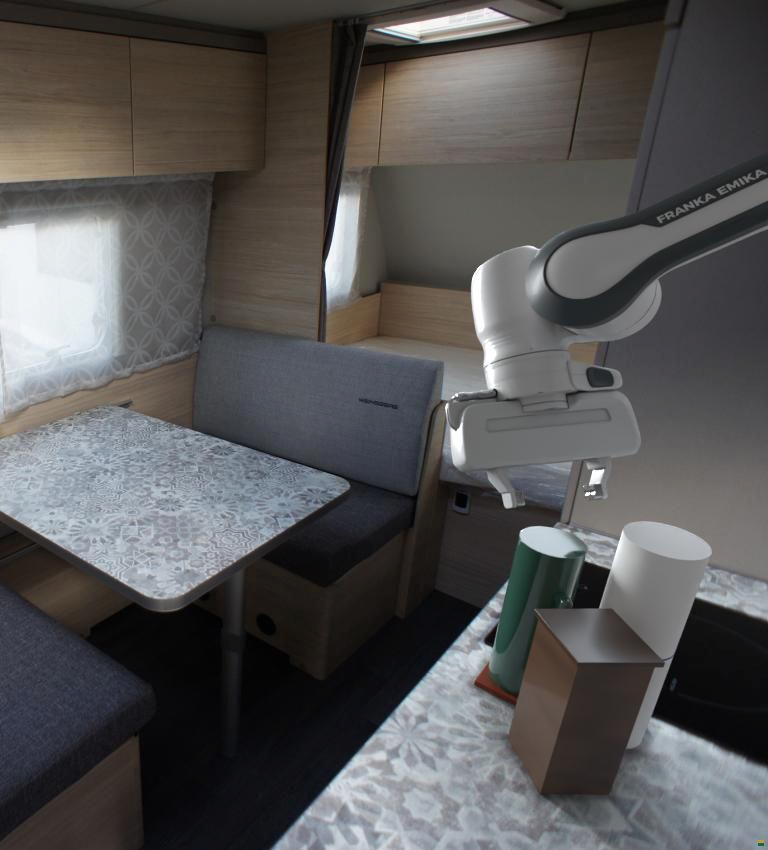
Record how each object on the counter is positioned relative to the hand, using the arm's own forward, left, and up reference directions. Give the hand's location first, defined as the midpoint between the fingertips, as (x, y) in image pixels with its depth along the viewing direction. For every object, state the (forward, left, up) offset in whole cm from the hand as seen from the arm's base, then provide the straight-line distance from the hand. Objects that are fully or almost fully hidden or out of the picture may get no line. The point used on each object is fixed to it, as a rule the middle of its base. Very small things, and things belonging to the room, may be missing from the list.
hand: (556, 503), depth 76 cm
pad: (+1, +2, -24) cm, 25 cm away
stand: (+5, +13, -24) cm, 28 cm away
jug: (+1, +2, -24) cm, 24 cm away
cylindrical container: (-4, +9, -25) cm, 27 cm away
